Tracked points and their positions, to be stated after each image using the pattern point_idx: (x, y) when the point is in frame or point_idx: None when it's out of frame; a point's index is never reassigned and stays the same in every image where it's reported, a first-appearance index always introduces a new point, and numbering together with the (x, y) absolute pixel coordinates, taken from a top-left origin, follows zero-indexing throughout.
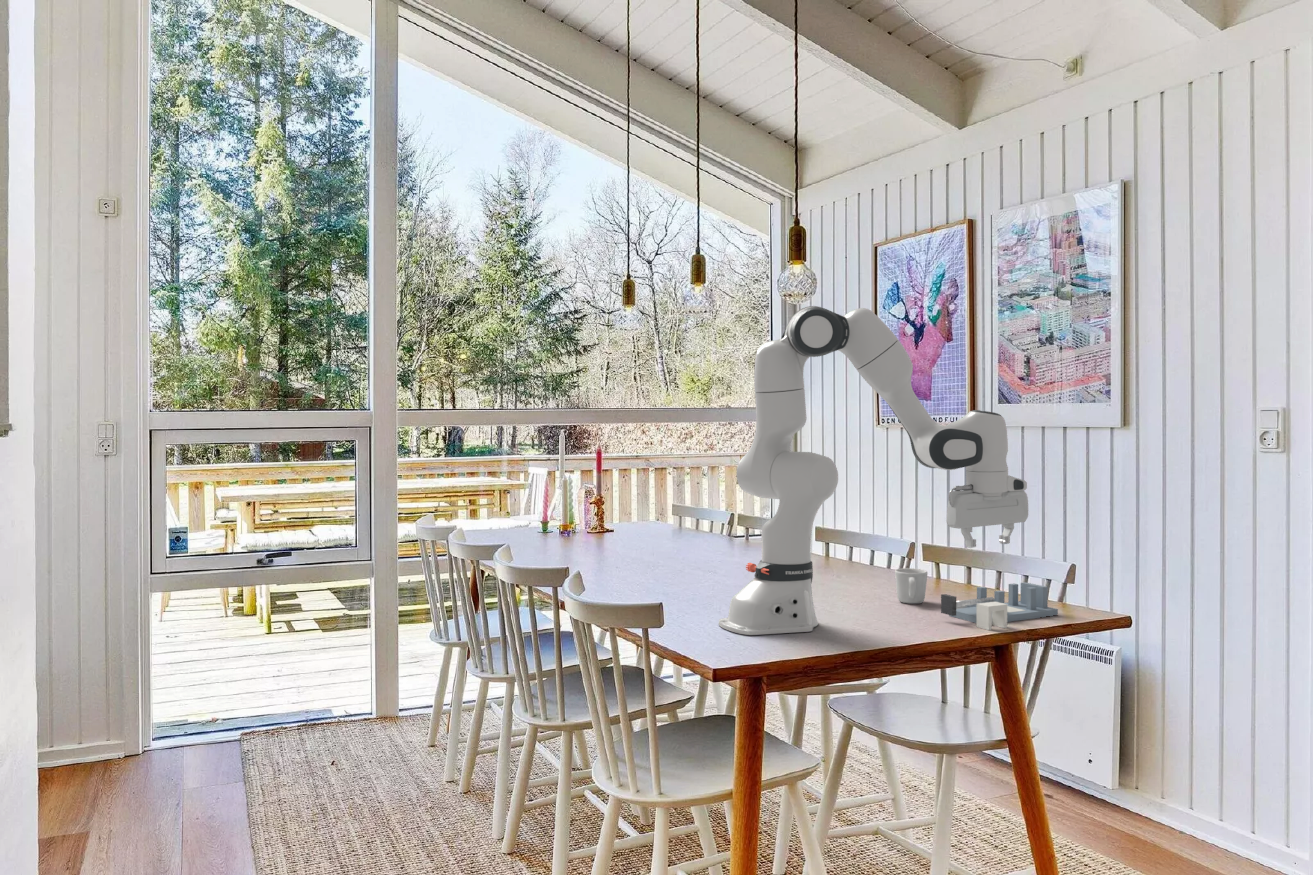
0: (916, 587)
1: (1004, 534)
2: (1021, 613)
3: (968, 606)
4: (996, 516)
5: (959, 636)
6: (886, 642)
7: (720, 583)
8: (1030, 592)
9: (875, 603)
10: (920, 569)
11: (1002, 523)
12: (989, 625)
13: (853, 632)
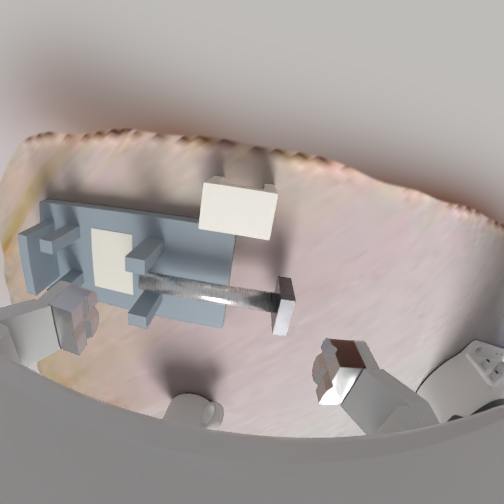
0: (198, 415)
1: (50, 336)
2: (118, 212)
3: (226, 285)
4: (101, 494)
5: (376, 189)
6: (480, 244)
7: None
8: (57, 239)
9: (250, 422)
10: None
11: (48, 381)
12: (272, 185)
13: (454, 315)
